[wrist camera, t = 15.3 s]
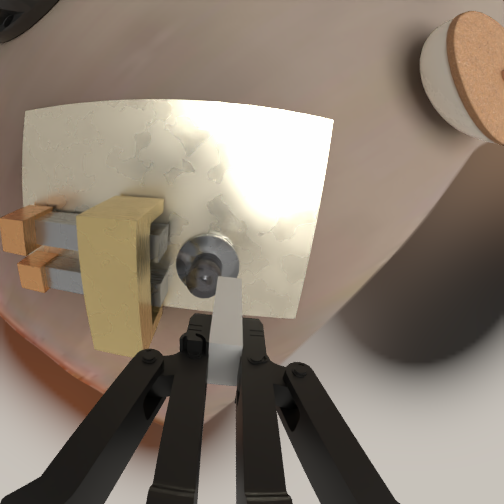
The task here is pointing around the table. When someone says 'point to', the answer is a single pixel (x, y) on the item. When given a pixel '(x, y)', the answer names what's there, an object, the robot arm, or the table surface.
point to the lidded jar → (467, 75)
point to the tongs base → (186, 192)
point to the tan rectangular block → (118, 272)
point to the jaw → (58, 231)
